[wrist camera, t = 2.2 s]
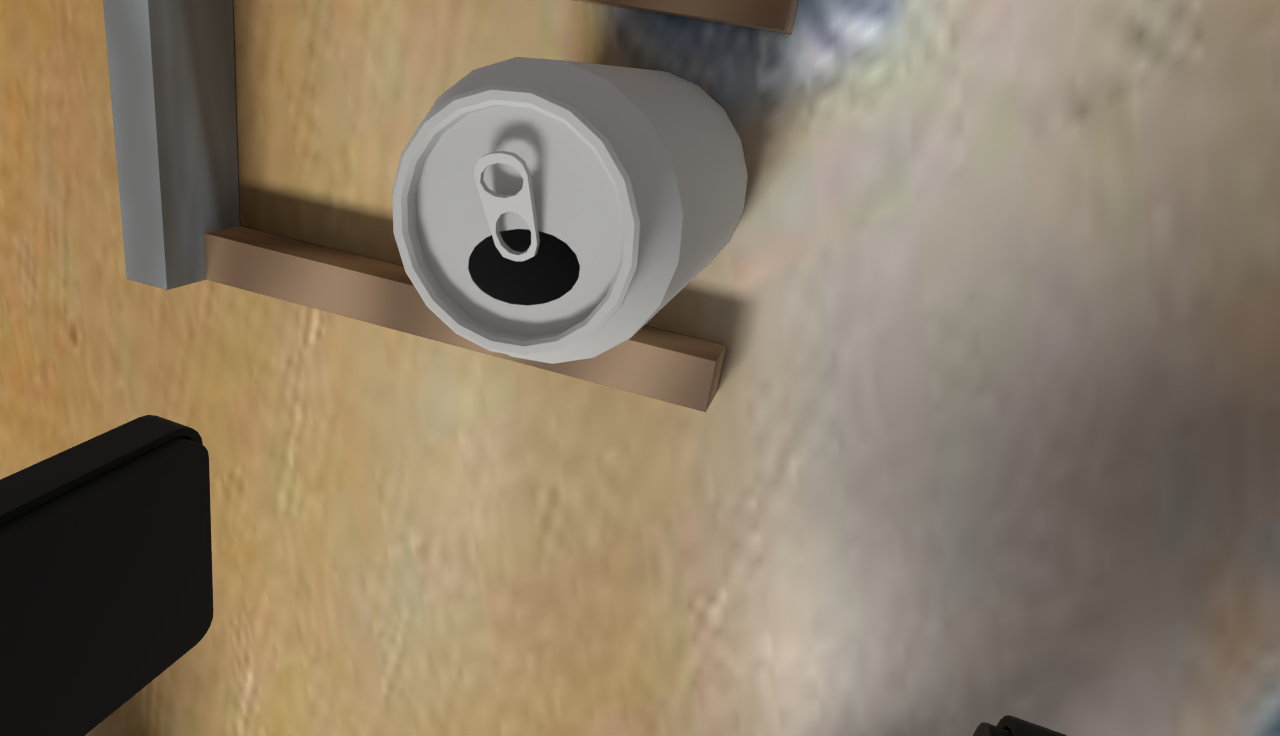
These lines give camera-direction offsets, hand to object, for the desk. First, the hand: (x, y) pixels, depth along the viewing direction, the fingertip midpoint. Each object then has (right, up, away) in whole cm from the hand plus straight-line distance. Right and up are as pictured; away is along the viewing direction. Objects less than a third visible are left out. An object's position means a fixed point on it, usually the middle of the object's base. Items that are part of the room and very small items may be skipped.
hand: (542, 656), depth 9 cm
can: (+2, +10, +20) cm, 23 cm away
